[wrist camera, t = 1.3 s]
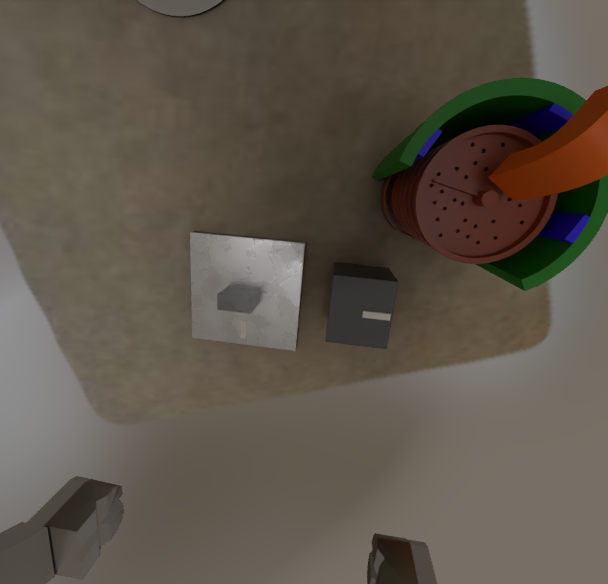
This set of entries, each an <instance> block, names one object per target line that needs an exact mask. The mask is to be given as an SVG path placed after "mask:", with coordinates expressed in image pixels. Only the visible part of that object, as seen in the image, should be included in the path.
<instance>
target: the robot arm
mask: <svg viewBox="0 0 608 584" xmlns="http://www.w3.org/2000/svg"><path fill="white" fill-rule="evenodd" d="M138 1H139V2H140V3H142V4H143V5H145V6H146V7H148V8H150V9H152V10H154V11H156V12H159V13H162V14H166V15H171V16H189V15H195V14H198V13H201V12H204V11H206V10H208V9H210V8H212V7H214V6H215V5H217V4H218V3H220V2H221V1H222V0H138ZM122 494H123V493H122V486H120V485H115V484H110V483H106V482H102V481H97V480H93V479H88V478H83V477H78V476H76V477H74V478H72V479H70V480H69V481H68V482H67V483H66V484H65V485H64V486H63V487H62V488H61V489H60V490H59V491H58V492H57V493H56V494H55V495H54V496H53V497H52V498H51V499H50V500H49V501H48V502H47V503H46V504H45V505H44V506H43V507H42V508H41V509H40V510H39V511H38V512H37V513H36V514H35V515H34V516H33V517H32V518H31V519H30V520H29V521H28V522H27V523H24V522H21V523H19V524H17V525H15V526H13V527H11V528H9V529H7V530H5V531H3V532H1V533H0V584H46V583H47V582H48V581H50V580H51V579H52V578H54V577H55V575H60V576H66V577H71V578H77V579H84V577H85V576H86V574H87V573H88V572H89V570H90V569H91V567H92V566H93V564H94V563H95V562H96V560H97V559H98V557H99V556H100V548H101V546H102V545H104V544H105V543H107V542H108V541H110V540H111V539H112V537H113V536H114V534H115V533H116V531H117V530H118V528H119V525H120V523H121V521H122V518H123V513H124V505H123V504H122V502H121V501H120V500H119V498H120V497H121V496H122ZM367 584H437V581H436V577H435V573H434V569H433V565H432V561H431V558H430V553H429V549H428V546H427V545H426V543H424V542H418V541H413V540H407V539H405V538H399V537H393V536H387V535H382V534H376V533H375V534H374V535H373V539H372V552H371V553H369V559H368V569H367Z"/></svg>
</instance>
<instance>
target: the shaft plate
mask: <svg viewBox="0 0 608 584" xmlns="http://www.w3.org/2000/svg"><path fill="white" fill-rule="evenodd" d="M305 244H306V242H297V241H287V240H276V239H266V238H256V237H246V236H236V235H226V234H216V233H206V232H196V231H193V232H190V254H191V299H192V338H199V339H207V340H214V341H222V342H230V343H238V344H245V345H253V346H261V347H268V348H276V349H284V350H291V351H296V348H297V339H298V327H299V315H300V303H301V291H302V279H303V267H304V256H305Z"/></svg>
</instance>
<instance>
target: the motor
mask: <svg viewBox="0 0 608 584" xmlns="http://www.w3.org/2000/svg"><path fill="white" fill-rule="evenodd" d="M431 146H435V147H436V148H434V149H432V150H429V149H430V148H431ZM373 177H374V178H376V179H378V180H380V179H382V178H385V177H387V178H386V180H385V182H384V185H383V188H382V192H381V206H382V211H383V214H384V216H385V218H386V220H387V221H388V223H389V224H390V225H391V226H392V227H393V228H394V229H395V230H397V231H398V232H400V233H401V234H403V235H405V236H407V237H409V238H412V239H417V240H420V241H421V242H423V243H424V244H426V245H428V246H429V247H431V248H432V249H434V250H436V251H437V252H439V253H441V254H442V255H444V256H446V257H448V258H450V259H452V260H455V261H458V262H463V263H470V264H476V265H478V266H480V267H481V268H483V269H485V270H487V271H489V272H491V273H493V274H495V275H496V276H498V277H500V278H502V279H504V280H506V281H508V282H509V283H511V284H513V285H515V286H517V287H519V288H521V289H522V290H524V291H526V290H528V289H531V288H533V287H536V286H538V285H540V284H542V283H544V282H546V281H547V280H549V279H551V278H552V277H554V276H555V275H557V274H558V273H560V272H561V271H562V270H564V269H565V268H566V267H567V266H569V265H570V264H571V263H572V262H573V261H574V260H575V259H576V258H577V257H578V256H579V255H580V254H581V253H582V252H583V251H584V250H585V249H586V247H587V246H588V245H589V244H590V242H591V241H592V239H593V238H594V237H595V235H596V234H597V232H598V231H599V229H600V227H601V225H602V223H603V221H604V219H605V217H606V215H607V213H608V86H606V87H604V88H601V89H599V90H596V91H595V92H594V93H593V94H592V95H591V96H590V97H589V98H588V100H587V101H586V100H585V99H583V98H582V97H581V96H579V95H578V94H576V93H575V92H573V91H572V90H570V89H568V88H565V87H564V86H561V85H559V84H556V83H552V82H549V81H545V80H540V79H532V78H513V79H504V80H498V81H494V82H490V83H487V84H483V85H480V86H478V87H475V88H473V89H471V90H468V91H466V92H464V93H462V94H461V95H459V96H457V97H455V98H454V99H452V100H451V101H449V102H448V103H446V104H445V105H443V106H442V107H441V108H440V109H438V110H437V111H436V112H435V113H434V114H433V115H431V116H430V117H429V118H428V119H427V120H426V121H425V122H424V123H423V124H421V125H420V126H419V127H418V128H417V129H416V130H415V131H414V132H413V133H412V134H410V135H409V136H408V137H407V138H406V139H405V140H404V141H403V142H402V143H401V144H399V145H398V146H397V147H396V148H395V149H394V150H393V151H392V152H391V153H390V154H388V155H387V156H386V157H385V158H384V160H383V161H382V162H381V163H380V165H379V166H378V168H377V169H376V171H375V173H374V175H373Z"/></svg>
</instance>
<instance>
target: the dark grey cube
mask: <svg viewBox="0 0 608 584" xmlns="http://www.w3.org/2000/svg"><path fill="white" fill-rule="evenodd" d="M397 286H398V281H397V279H396V278H395V277H394V275H393V274H392V272H391V271H390V269H389V268H381V267H371V266H362V265H352V264H343V263H334V272H333V280H332V289H331V298H330V307H329V316H328V325H327V334H326V342H334V343H342V344H350V345H358V346H366V347H374V348H382V349H386V348H387V343H388V337H389V331H390V326H391V320H392V314H393V309H394V303H395V297H396V292H397Z"/></svg>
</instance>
